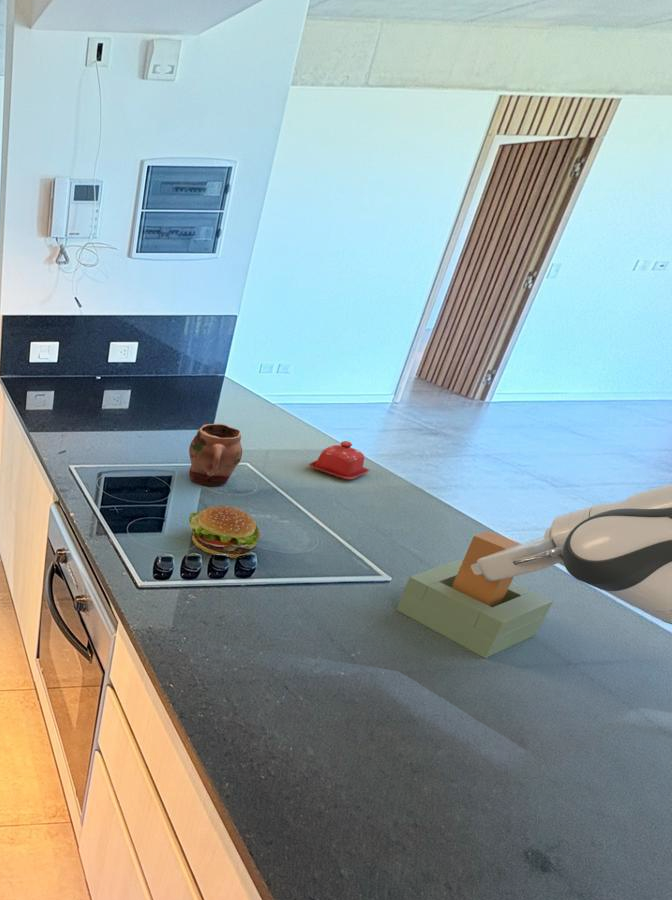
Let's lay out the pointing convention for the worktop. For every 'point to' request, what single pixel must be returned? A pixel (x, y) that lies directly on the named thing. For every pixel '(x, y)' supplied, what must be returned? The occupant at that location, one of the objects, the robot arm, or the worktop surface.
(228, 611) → the worktop surface
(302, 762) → the worktop surface
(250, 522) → the food
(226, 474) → the decorative planter
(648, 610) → the robot arm
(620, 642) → the worktop surface
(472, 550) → the orange rectangular block
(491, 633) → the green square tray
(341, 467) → the butter dish
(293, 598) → the worktop surface
